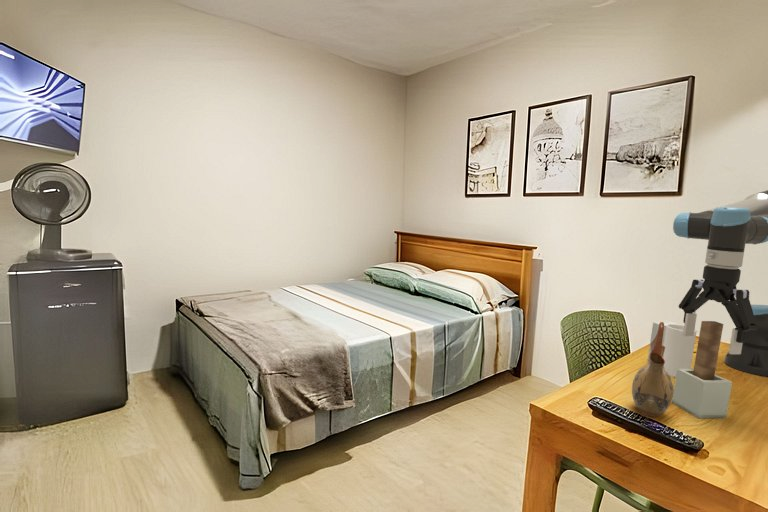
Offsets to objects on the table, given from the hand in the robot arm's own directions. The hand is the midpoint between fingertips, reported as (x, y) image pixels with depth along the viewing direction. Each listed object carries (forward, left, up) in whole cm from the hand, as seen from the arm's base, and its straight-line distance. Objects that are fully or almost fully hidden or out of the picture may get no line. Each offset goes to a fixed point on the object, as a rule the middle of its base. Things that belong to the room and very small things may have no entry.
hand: (709, 344), depth 110 cm
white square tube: (0, 0, -19) cm, 19 cm away
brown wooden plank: (0, 0, -18) cm, 18 cm away
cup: (-15, -24, -19) cm, 34 cm away
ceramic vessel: (+16, +1, -19) cm, 25 cm away
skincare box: (-18, -32, -19) cm, 41 cm away
